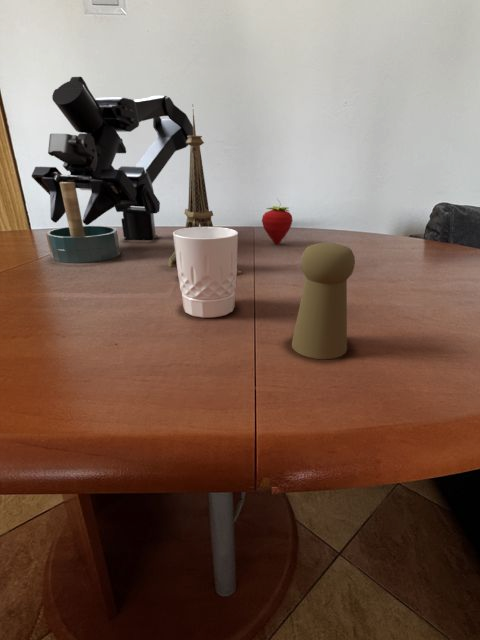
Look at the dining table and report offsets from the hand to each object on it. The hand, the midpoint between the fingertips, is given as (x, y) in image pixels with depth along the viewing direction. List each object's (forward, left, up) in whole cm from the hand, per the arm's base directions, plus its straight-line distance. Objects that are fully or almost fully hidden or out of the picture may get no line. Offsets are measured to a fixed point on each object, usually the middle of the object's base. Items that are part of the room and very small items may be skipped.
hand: (68, 222), depth 68 cm
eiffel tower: (-24, +5, -7) cm, 26 cm away
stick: (0, -1, -6) cm, 7 cm away
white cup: (-27, +24, -7) cm, 37 cm away
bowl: (-1, -3, -7) cm, 8 cm away
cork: (-40, +35, -7) cm, 54 cm away
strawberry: (-39, -18, -7) cm, 43 cm away
